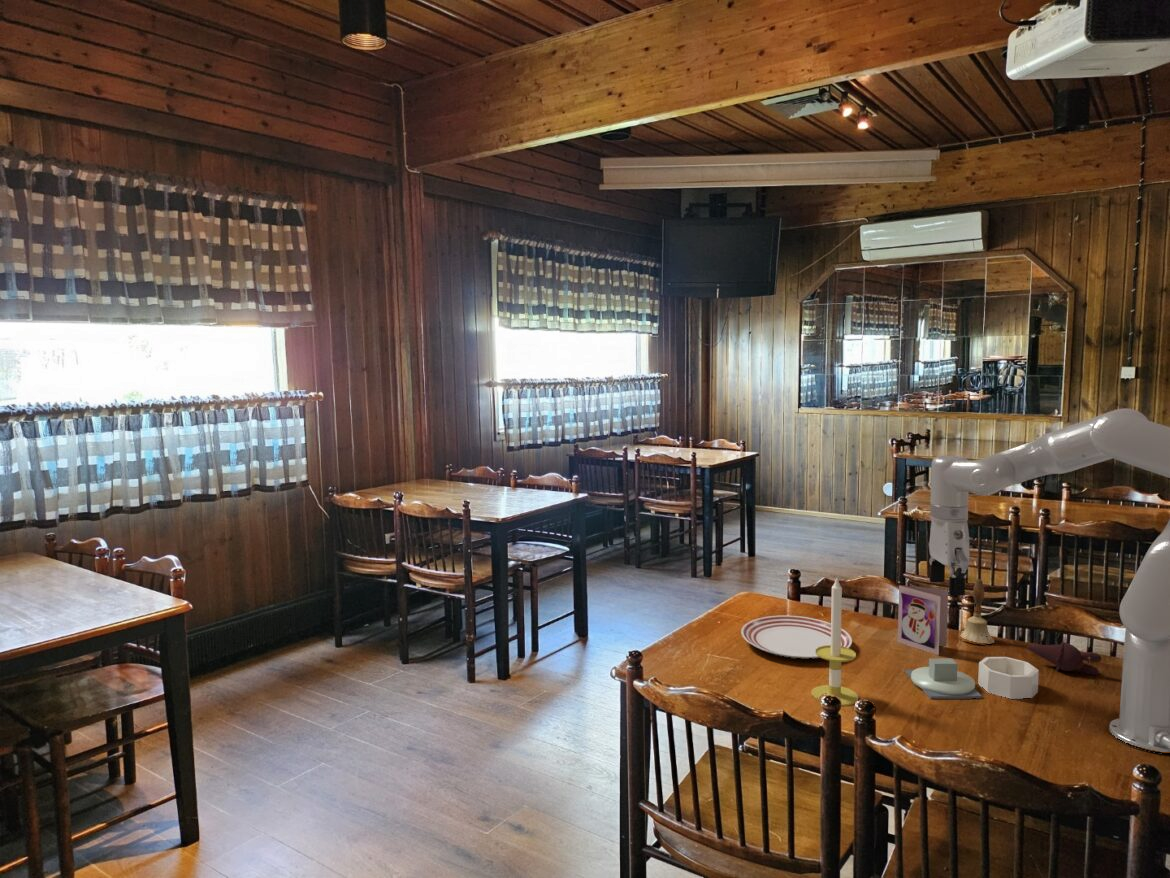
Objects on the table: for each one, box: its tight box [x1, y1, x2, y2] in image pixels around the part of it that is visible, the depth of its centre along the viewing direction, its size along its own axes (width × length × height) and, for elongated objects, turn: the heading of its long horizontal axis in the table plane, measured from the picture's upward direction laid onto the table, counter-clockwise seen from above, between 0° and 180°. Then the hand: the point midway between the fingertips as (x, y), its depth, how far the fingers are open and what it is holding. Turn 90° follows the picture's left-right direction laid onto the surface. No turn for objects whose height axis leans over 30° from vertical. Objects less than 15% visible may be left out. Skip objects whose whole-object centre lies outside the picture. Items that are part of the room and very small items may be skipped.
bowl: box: [977, 656, 1040, 700], centre depth 173 cm, size 11×11×5 cm
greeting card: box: [897, 585, 949, 656], centre depth 198 cm, size 11×7×15 cm, turn 33°
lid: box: [910, 657, 976, 695], centre depth 176 cm, size 13×13×5 cm
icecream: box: [1025, 640, 1103, 676], centre depth 183 cm, size 7×7×15 cm
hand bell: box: [959, 578, 995, 644], centre depth 202 cm, size 8×8×16 cm
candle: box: [810, 577, 860, 707], centre depth 170 cm, size 10×10×27 cm
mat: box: [904, 669, 983, 700], centre depth 176 cm, size 14×11×1 cm
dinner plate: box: [740, 614, 853, 660], centre depth 201 cm, size 28×27×3 cm
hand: (946, 588), depth 173 cm, fingers open, 9 cm apart
